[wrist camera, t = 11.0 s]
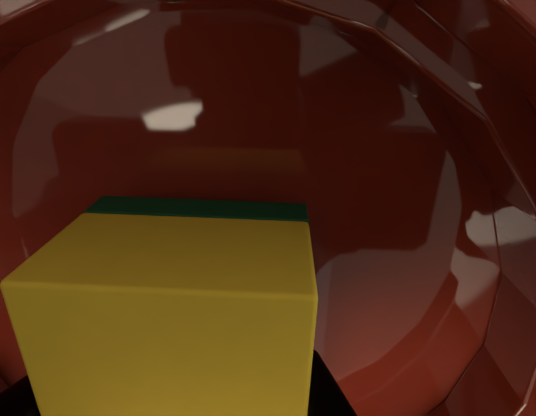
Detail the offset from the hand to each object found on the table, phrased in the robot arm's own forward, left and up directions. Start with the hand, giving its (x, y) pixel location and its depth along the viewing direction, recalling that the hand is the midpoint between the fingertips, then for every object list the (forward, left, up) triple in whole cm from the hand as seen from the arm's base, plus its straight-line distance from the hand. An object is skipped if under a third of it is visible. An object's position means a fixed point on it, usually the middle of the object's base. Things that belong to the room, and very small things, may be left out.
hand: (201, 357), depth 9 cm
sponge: (0, 0, -1) cm, 1 cm away
